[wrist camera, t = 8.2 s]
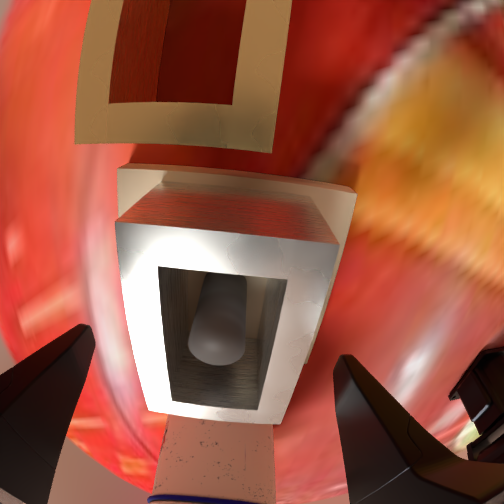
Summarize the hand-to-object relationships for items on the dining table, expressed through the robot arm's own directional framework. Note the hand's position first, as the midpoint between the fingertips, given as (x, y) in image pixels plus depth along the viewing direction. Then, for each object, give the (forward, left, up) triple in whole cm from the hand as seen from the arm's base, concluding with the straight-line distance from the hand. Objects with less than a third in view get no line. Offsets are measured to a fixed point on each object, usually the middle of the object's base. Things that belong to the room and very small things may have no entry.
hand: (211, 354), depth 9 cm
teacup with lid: (-1, +16, -6) cm, 17 cm away
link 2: (0, 0, -4) cm, 4 cm away
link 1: (+2, -11, -6) cm, 12 cm away
